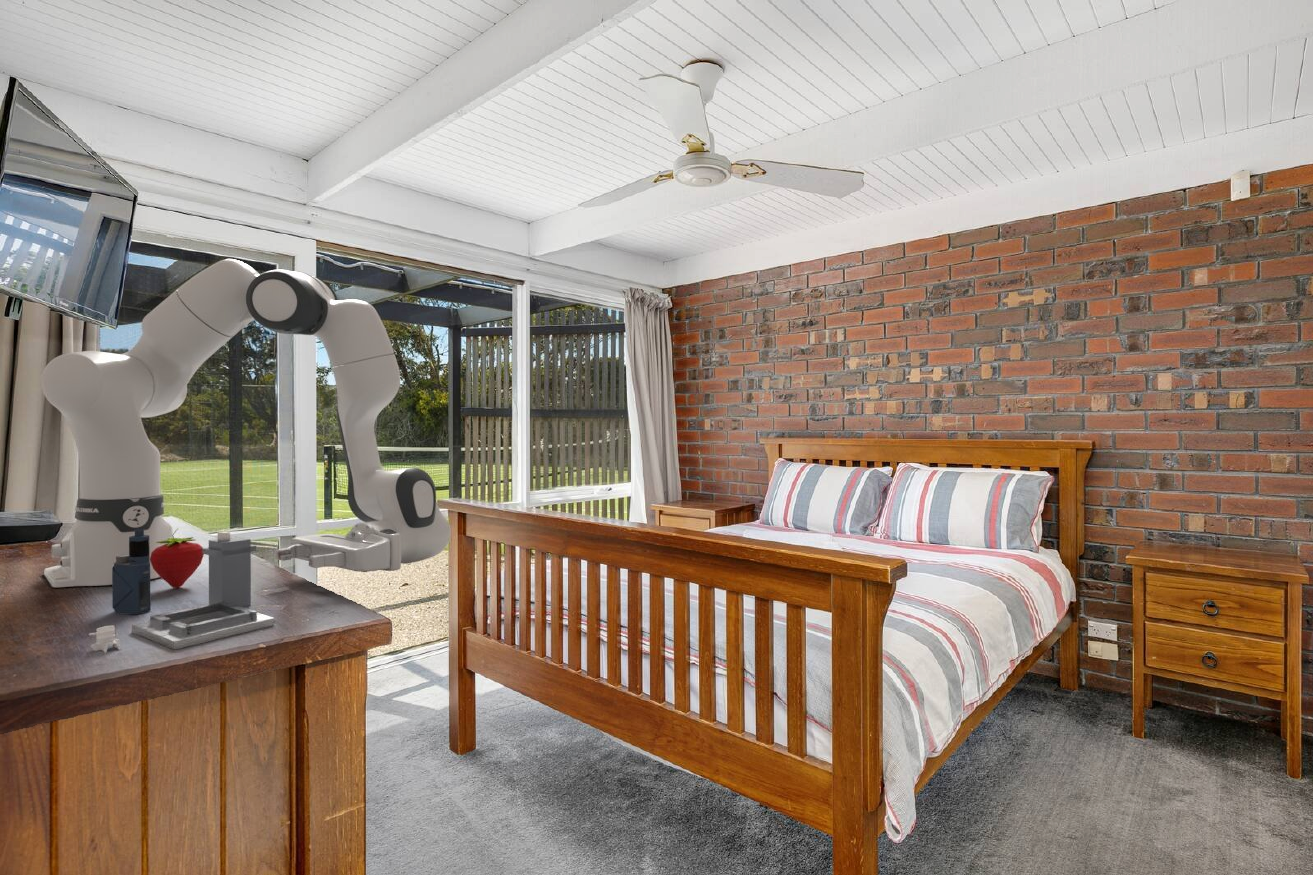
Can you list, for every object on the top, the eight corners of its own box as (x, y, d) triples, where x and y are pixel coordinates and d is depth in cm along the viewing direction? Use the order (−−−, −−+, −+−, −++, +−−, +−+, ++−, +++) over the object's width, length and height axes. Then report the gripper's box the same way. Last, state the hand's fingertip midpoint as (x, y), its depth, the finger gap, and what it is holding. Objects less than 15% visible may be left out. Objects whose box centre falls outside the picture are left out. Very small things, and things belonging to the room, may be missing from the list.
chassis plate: (131, 632, 89) (131, 617, 89) (229, 611, 99) (229, 597, 99) (174, 649, 82) (174, 633, 82) (274, 625, 93) (274, 610, 92)
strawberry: (211, 586, 113) (211, 526, 113) (159, 595, 107) (158, 532, 107) (194, 581, 117) (194, 523, 116) (143, 590, 110) (142, 529, 110)
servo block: (203, 607, 100) (202, 532, 100) (242, 599, 105) (242, 528, 105) (216, 612, 98) (216, 535, 98) (256, 603, 103) (256, 530, 103)
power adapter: (118, 648, 84) (118, 623, 84) (123, 652, 82) (123, 627, 82) (86, 654, 82) (86, 628, 82) (92, 659, 80) (91, 633, 80)
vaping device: (138, 615, 96) (137, 531, 96) (108, 613, 97) (107, 530, 97) (155, 610, 99) (154, 528, 98) (125, 608, 100) (125, 527, 100)
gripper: (335, 523, 127) (260, 533, 116) (406, 534, 116) (331, 546, 105) (335, 556, 127) (260, 569, 116) (406, 571, 117) (330, 587, 105)
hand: (294, 558), depth 110 cm, fingers open, 8 cm apart
